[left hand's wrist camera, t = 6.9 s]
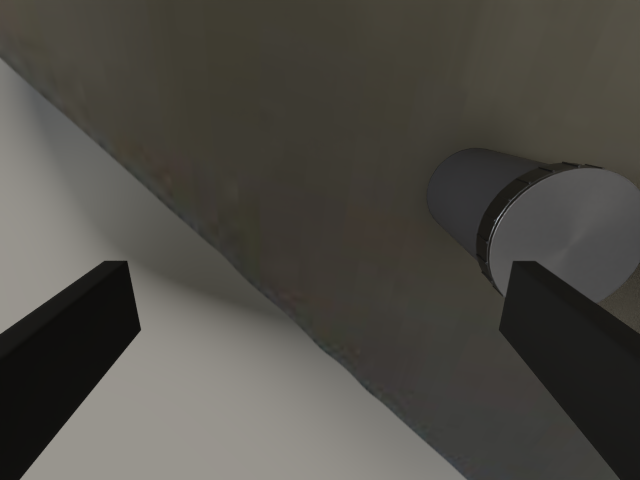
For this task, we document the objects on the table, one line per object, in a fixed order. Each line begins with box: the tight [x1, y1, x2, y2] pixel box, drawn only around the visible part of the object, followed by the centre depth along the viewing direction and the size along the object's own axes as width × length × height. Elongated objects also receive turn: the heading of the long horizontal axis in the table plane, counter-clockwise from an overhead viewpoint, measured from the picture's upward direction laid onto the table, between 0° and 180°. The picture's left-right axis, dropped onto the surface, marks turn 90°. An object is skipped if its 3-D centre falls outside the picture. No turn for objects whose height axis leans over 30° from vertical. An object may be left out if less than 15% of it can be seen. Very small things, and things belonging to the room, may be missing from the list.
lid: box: [476, 162, 640, 303], centre depth 25 cm, size 10×11×2 cm
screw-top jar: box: [427, 148, 549, 261], centre depth 32 cm, size 10×10×16 cm
